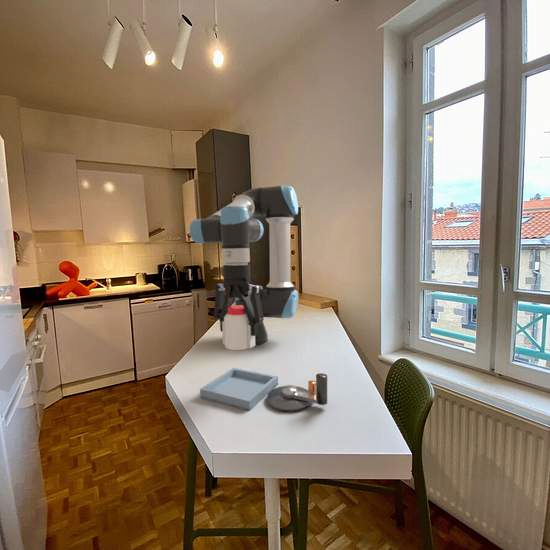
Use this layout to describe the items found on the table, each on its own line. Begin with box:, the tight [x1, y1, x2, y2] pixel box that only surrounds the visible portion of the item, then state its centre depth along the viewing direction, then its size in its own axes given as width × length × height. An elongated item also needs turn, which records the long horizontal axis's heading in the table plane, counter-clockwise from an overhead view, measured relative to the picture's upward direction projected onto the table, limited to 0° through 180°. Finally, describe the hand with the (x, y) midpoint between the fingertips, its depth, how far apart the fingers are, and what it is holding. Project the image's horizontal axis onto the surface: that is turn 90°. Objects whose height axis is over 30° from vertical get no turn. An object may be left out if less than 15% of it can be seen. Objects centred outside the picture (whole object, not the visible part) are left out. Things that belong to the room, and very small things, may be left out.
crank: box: [281, 372, 328, 406], centre depth 82 cm, size 12×4×7 cm, turn 63°
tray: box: [199, 367, 279, 412], centre depth 90 cm, size 16×16×2 cm
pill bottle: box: [224, 304, 250, 351], centre depth 88 cm, size 8×8×11 cm
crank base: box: [266, 380, 316, 413], centre depth 84 cm, size 13×12×5 cm
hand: (238, 344), depth 89 cm, fingers closed on pill bottle, 8 cm apart
